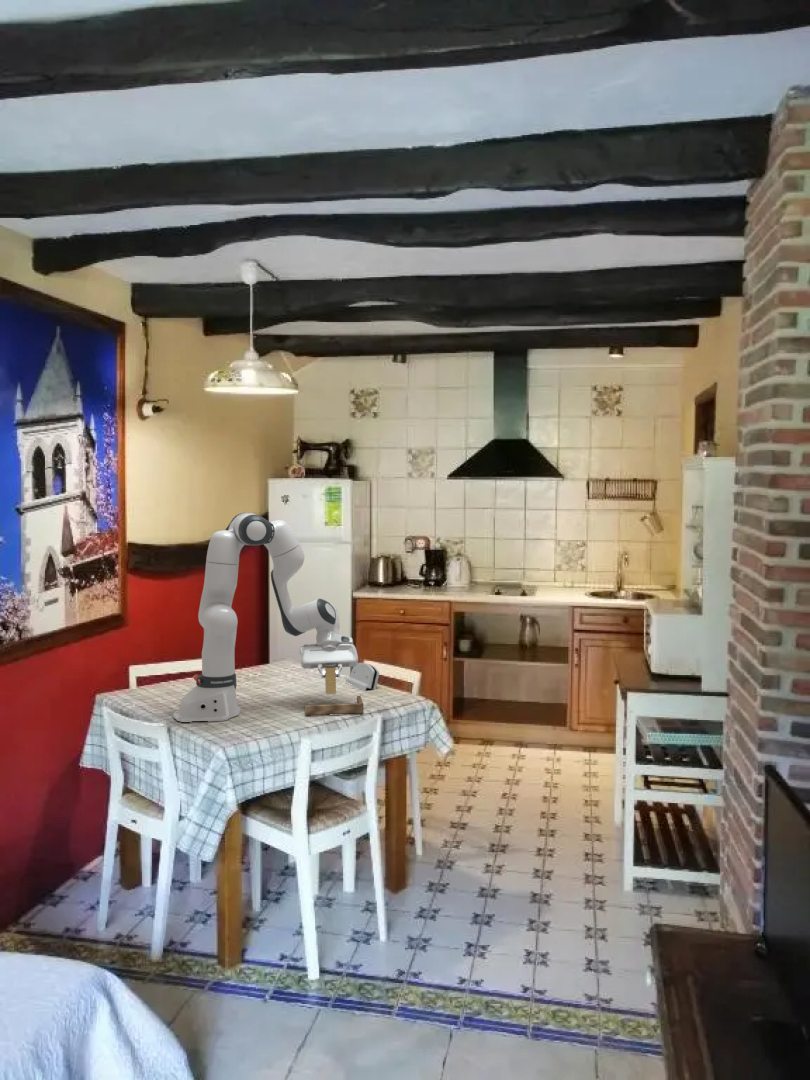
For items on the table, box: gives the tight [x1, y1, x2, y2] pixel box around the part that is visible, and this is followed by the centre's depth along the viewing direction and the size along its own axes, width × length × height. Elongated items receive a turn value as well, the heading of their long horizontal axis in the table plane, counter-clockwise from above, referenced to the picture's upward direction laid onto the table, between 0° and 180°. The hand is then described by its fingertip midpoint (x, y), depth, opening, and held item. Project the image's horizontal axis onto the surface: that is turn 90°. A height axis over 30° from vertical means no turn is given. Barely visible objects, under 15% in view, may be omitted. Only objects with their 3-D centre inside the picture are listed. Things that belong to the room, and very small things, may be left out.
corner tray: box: [304, 695, 364, 717], centre depth 306 cm, size 20×12×4 cm, turn 98°
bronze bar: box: [324, 663, 337, 695], centre depth 307 cm, size 4×4×10 cm
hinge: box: [345, 662, 380, 692], centre depth 344 cm, size 17×5×10 cm, turn 31°
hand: (330, 676), depth 306 cm, fingers closed on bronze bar, 3 cm apart
